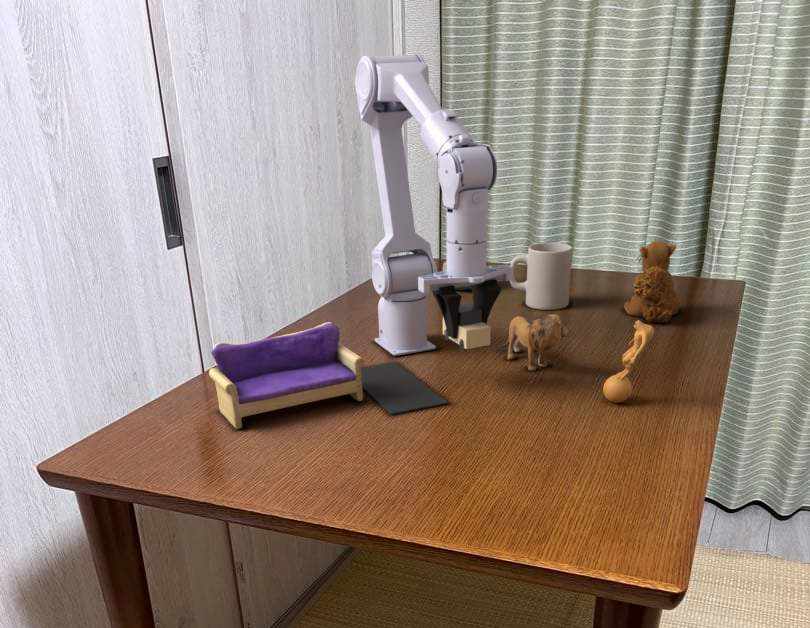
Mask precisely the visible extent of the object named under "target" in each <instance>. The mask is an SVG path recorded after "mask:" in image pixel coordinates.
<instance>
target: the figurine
mask: <svg viewBox="0 0 810 628" xmlns="http://www.w3.org/2000/svg"><path fill="white" fill-rule="evenodd" d="M633 328H634V329H635V332H634V337H633V338H632V339H631V340H630V341H629V342H628V346H629V347H630V348H629V349H627V350H626V352H625V353H623V354H622V356H621V357H622V365H623V366H624V367H625V369H623V370H622V371H620V372H618V373H616V374H614V375H611V376H609V377H608V378H607V379H606V380H605V382H604V384H603V389H602V392H603V394H604V395H603V396H604V397H605V398H606V399H607V400H608V401H609V402H612V403H618V404H619V403H622V402H625V401H626V400H627V399H628V398H629V397H630V396H631V393H632V390H633V387H632V382H631V380H630V379H629V378H628V377H627V376H628V375H629V374H630V373H631V371H632V366H633V365H634V363H635V362H636V359H637V357H638V356H639V355H640V354H641V352H642V351H643V349H645V347H646V345H647V344H648V343H649V341H650V340H651V339H652V338H653V336H654V335H655V328H654V327H653V325H650V324H647V323H644V322H642V321H641V320H639V319H638V320H636V321H635V322H634V325H633Z"/></svg>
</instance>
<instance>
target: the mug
mask: <svg viewBox="0 0 810 628" xmlns="http://www.w3.org/2000/svg"><path fill="white" fill-rule="evenodd" d="M572 262H573V246H571V245H570V244H567V243H561V242H540V243H534V244H532V245H530V246H528V250H527V253H526V254H518V255H515V256H514V257H513V258H512V259H511V262H510V265H509V266H511V267H513V280H512V281H509V283H510V286H511V288H512V289H514V290H516V291H520V292H525V305H526V306H527V307H528V308H531V309H534V310H539V311H541V310H542V311H554V310H555V311H556V310H561V309H565V308H567V307H568V306H569V303H570V290H571V289H570V287H571V273H572ZM518 264H524V265H526V267H527V268H526V270H527V271H526V280H525V281H523V282H519V281H517V279H516V278H515V277H516V276H515V269H516V266H517V265H518Z"/></svg>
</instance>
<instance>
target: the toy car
mask: <svg viewBox="0 0 810 628" xmlns="http://www.w3.org/2000/svg"><path fill="white" fill-rule="evenodd" d="M491 327H492V326H490V325H488V324H485V323H483V322H482V309H481V308H479V307H477V306H475V305H474V303H472V302H469V301H465V302H460V306H459V313H458V335H457V338H455V339H453V338H451V337H449V336H448V335H447V330H446V325H445V321H444V318H443V317H442V335H443V336H444V339H445V341H446V342H450V341H452V342H453V343H456V344H457V345H459V349H460V350H461V352H464V351H468V350H469V349H475V348H487V347H489V346H491V329H492V328H491Z"/></svg>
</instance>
